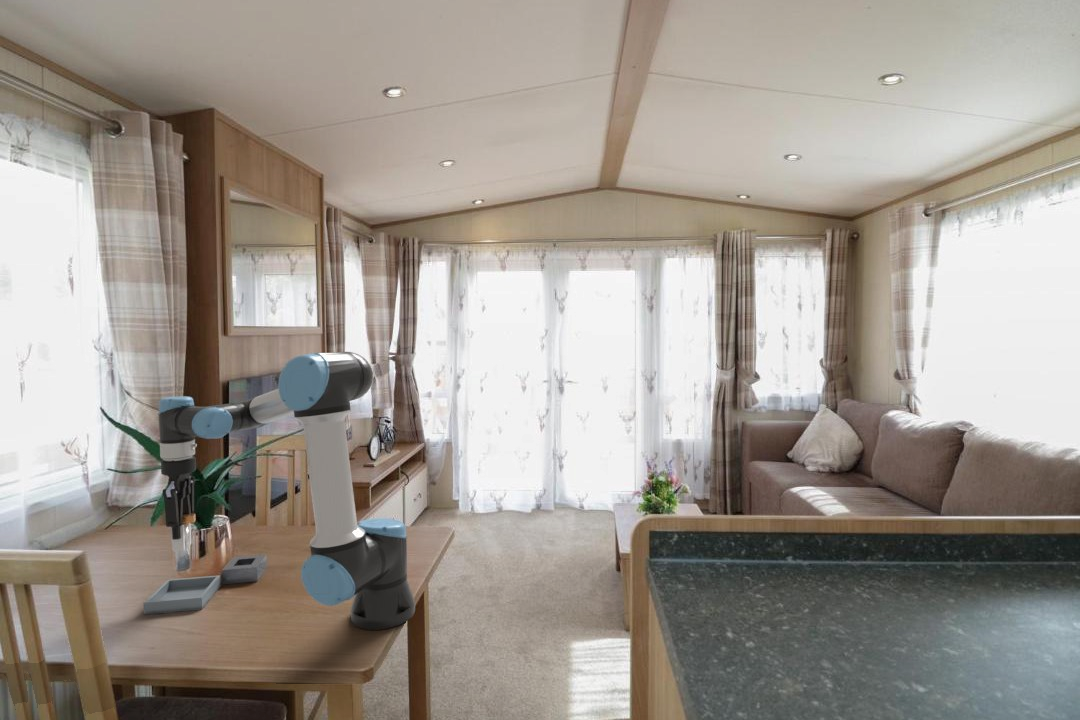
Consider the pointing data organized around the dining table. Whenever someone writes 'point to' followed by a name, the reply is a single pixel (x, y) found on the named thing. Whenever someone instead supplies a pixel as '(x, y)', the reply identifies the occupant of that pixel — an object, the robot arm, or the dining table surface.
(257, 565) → the block
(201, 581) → the tray
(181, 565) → the t key
